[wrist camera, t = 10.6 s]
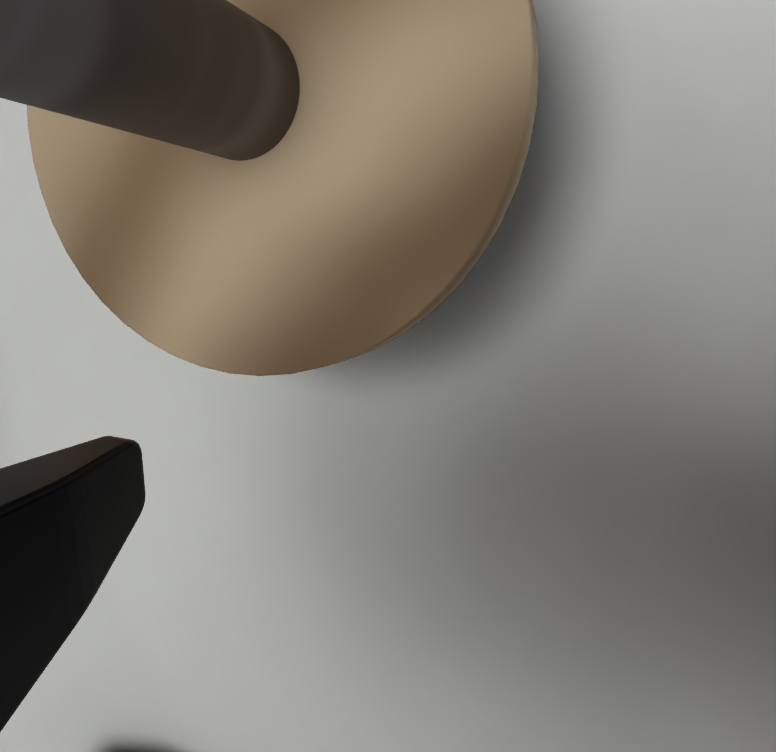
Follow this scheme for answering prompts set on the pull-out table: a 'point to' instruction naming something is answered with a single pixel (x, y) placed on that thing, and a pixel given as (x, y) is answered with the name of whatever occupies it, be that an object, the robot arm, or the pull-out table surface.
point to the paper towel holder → (273, 161)
